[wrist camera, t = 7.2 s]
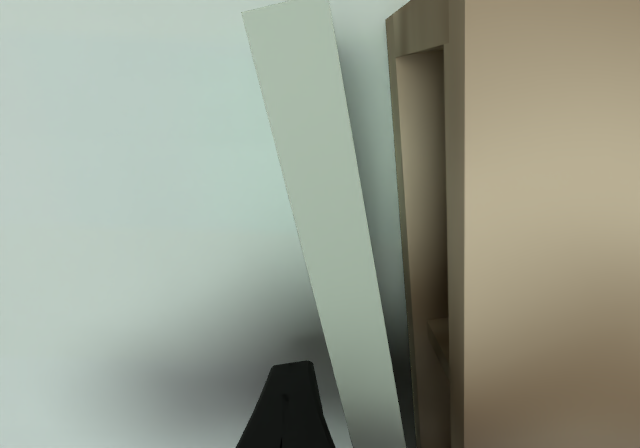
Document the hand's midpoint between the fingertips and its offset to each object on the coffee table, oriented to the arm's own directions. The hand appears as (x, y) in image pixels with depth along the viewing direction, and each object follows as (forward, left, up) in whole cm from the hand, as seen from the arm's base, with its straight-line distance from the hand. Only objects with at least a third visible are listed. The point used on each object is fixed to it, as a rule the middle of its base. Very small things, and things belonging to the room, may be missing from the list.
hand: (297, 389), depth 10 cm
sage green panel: (+1, -2, -1) cm, 2 cm away
